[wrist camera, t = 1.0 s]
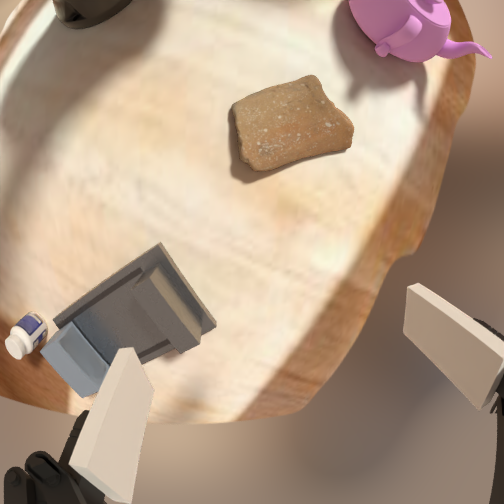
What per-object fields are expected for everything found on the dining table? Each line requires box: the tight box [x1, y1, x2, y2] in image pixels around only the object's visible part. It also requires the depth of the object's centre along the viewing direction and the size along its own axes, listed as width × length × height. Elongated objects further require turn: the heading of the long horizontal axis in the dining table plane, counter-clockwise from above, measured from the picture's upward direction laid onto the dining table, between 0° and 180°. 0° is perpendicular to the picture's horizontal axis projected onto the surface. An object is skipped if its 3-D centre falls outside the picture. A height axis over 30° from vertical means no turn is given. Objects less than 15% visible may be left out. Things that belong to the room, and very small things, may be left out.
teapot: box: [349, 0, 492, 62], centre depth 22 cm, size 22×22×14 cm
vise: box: [53, 242, 216, 366], centre depth 34 cm, size 14×24×8 cm, turn 120°
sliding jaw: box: [40, 321, 110, 398], centre depth 35 cm, size 18×5×6 cm, turn 30°
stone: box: [231, 75, 354, 171], centre depth 31 cm, size 11×16×3 cm
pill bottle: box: [5, 311, 48, 359], centre depth 32 cm, size 5×5×9 cm
